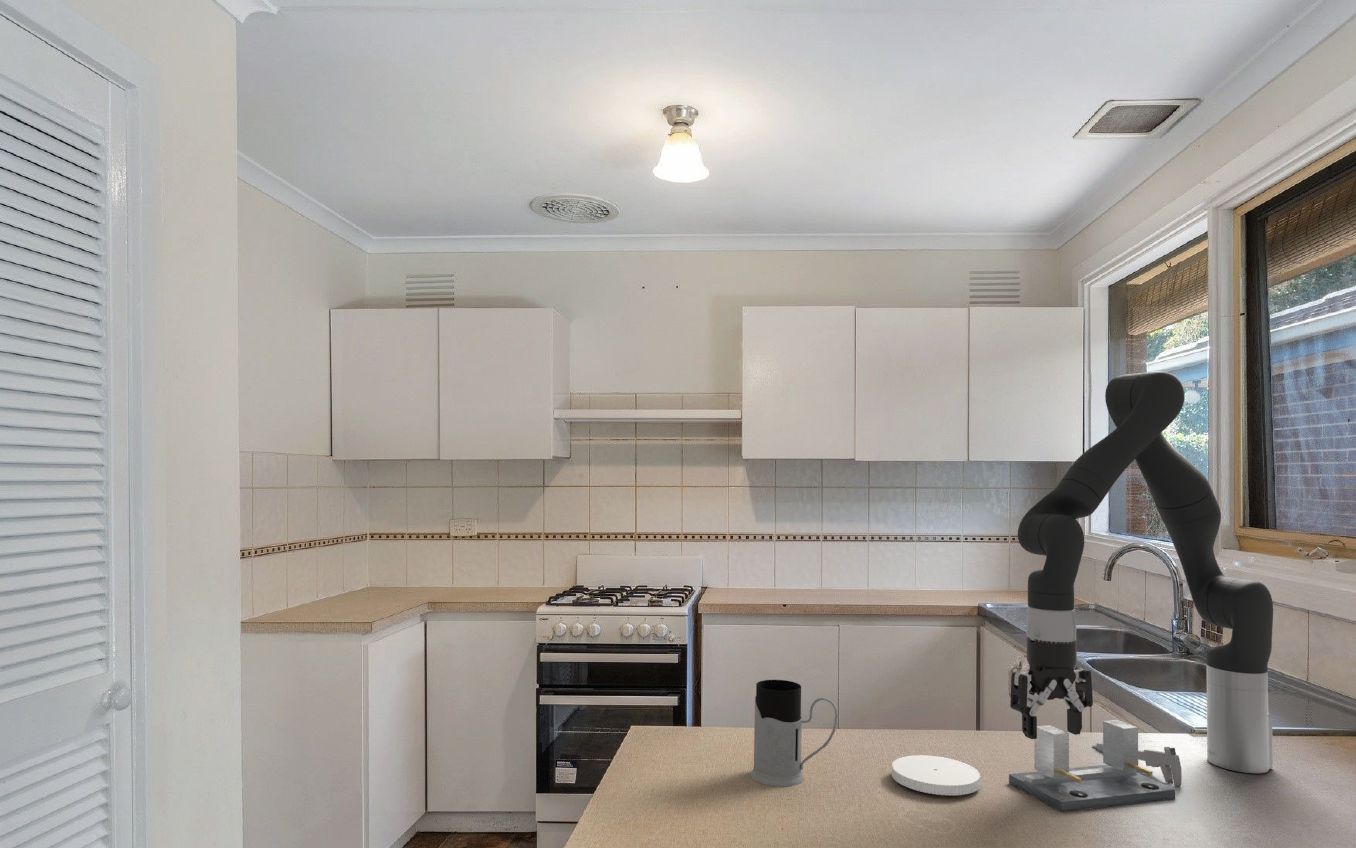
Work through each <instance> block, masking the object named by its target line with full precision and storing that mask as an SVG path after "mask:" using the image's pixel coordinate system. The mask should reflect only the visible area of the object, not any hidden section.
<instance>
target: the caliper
mask: <svg viewBox="0 0 1356 848" xmlns="http://www.w3.org/2000/svg"><path fill="white" fill-rule="evenodd" d="M1091 747H1092V748H1093V749H1096V750H1097V751H1099V752H1101V753H1103V742H1096V744H1093V745H1092V746H1091ZM1163 748H1164V751H1159V750H1153V749H1143V750H1140V749H1138V761H1143V762H1144V763H1145V766H1146V767H1152V768H1158V767H1159V768H1160V771H1161V773H1162V777H1163V778H1164V781H1165V783H1166V784H1173V787H1181V786H1182V784H1183V783H1182V781H1183V780H1182V778H1183V776H1182V765H1181V761H1180V756H1179V755H1178V754H1177V753H1176V748H1175V747H1170V746H1164V747H1163Z"/></svg>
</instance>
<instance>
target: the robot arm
mask: <svg viewBox="0 0 1356 848" xmlns="http://www.w3.org/2000/svg"><path fill="white" fill-rule="evenodd" d="M1104 396H1105V404H1106V405H1105V406H1106V408H1107V411H1108V414H1109V416H1110V418H1111V420H1112V422H1113V424H1114V426H1115V427H1116V428H1114V430H1112V432H1110V433H1109V434H1107V435H1106V436H1105V437H1104V438H1102V439H1100V440H1099V441H1098V442H1096V443H1095V444H1094V445H1092V446H1091V447H1089V448H1088V449H1087V450H1086V451H1084V453H1082V454H1080V456H1079V457H1077V459H1076V460H1075V461H1074V462H1073V463H1072V464H1071V466H1070V467H1069V469H1068V470H1067V471H1066V473H1065V474H1064V475H1063V477H1062V479H1060V480H1059V482H1058V484H1057V485H1056V487H1055V488H1054V489H1053V490H1052V491H1050V492H1049V493H1047V494H1046V495H1045V496H1043V498H1041V499H1040V500H1038V502H1037V503H1035V504H1034V505H1033V506H1032V507H1031V508H1030V509H1029V510H1028V511H1027V512H1026V513H1025V515H1024V516H1023V517H1022V519H1021V521H1020V523H1019V524H1018V529H1017V539H1018V543H1019V544H1020V546H1021V548H1022V549H1023V550H1025V551H1026V552H1027V553H1030V554H1032V555H1038V556H1045V562H1044V565H1043V568H1042V569H1038V570H1034V571H1032V572H1030V574H1029V576H1028V577H1027V612H1026V613H1027V614H1026V622H1025V623H1026V627H1025V628H1026V633H1025V634H1026V635H1025V636H1026V662H1027V664H1028V666H1029V669H1028V672H1027V673H1020V672H1017V671H1013V672H1012V673H1011V679H1010V680H1011V681H1010V682H1011V683H1010V702H1009V703H1010V709H1012V710H1015V711H1016V712H1019V713H1020V714H1021V731H1022V733H1023V735H1024V737H1026V738H1028V739H1030V740H1034V739H1037V726H1038V720H1037V719H1038V717H1037V716H1036V714H1037V712H1038V710H1040V707H1041V706H1044V705H1045V703H1046V701H1052V700H1056V699H1059V700H1061V699H1062V700H1063V701H1064V703H1065V704H1066V706H1067V707H1068V708H1066V725H1067V726H1066V730H1067V733H1069V734H1072V735H1075V736H1077V735H1080V734H1081V731H1082V730H1083V712H1084V711H1085V708H1091V707H1092V706H1093V704H1094V700H1093V698H1094V697H1093V683H1092V672H1091V671H1090V670H1089V669H1085V668H1082V667H1078V666H1077V663H1078V661H1077V659H1078V658H1077V653H1078V652H1077V649H1078V648H1077V619H1076V613H1075V582H1076V578H1077V575H1078V571H1079V568H1080V565H1081V561H1082V556H1083V554H1084V553H1083V552H1084V549H1085V535H1084V531H1083V528H1082V525H1081V524H1080V522H1079V521H1078V520H1077V519H1082V518H1086V517H1088V516H1091V515H1092V514H1093V513H1094V512H1095V511H1096V510H1097V509H1098V508H1099V506H1100V505H1101V503H1102V501H1103V500H1104V499H1105V498H1106V496H1107V494H1108V493H1109V491H1110V490H1111V489H1112V487H1113V485H1114V484H1115V483H1116V482H1117V480H1118V479H1119V478H1120V477H1121V475H1123V473H1124V471H1126V470H1127V468H1128V467H1129V466H1130V464H1132V463H1133V462H1134V461H1135V463H1136V464H1137V467H1138V469H1139V471H1140V473H1141V475H1142V477H1143V479H1144V481H1145V484H1146V485H1147V487H1148V490H1149V492H1150V495H1151V497H1152V499H1153V500H1152V501H1153V502H1154V505H1155V507H1156V509H1157V511H1158V513H1159V516H1160V518H1161V520H1162V523H1163V524H1164V526H1165V528H1166V531H1167V532H1168V535H1169V537H1170V540H1171V542H1172V544H1173V547H1174V549H1175V552H1176V554H1177V556H1178V558H1179V562H1180V564H1181V568H1182V570H1183V573H1184V576H1185V581H1186V583H1187V586H1188V587H1187V588H1188V589H1189V593H1190V596H1191V598H1192V602H1193V604H1194V607H1195V609H1196V611H1197V613H1198V615H1199V616H1200V618H1201V619H1202V620H1203V621H1205V622H1206V623H1207V624H1209V625H1212V626H1216V627H1218V628H1219V627H1220V628H1224V629H1230V630H1232V631H1231V638H1230V641H1229V642H1228V643H1226V644H1224V645H1216V646H1211V647H1210V648H1208V649H1207V651H1206V658H1205V659H1206V733H1207V734H1206V740H1207V741H1206V745H1207V747H1206V748H1207V750H1206V753H1207V754H1206V755H1207V761H1208V762H1209V763H1211V764H1212V765H1214V766H1217V767H1218V768H1222V769H1226V770H1230V771H1235V772H1239V773H1245V774H1264V773H1267V772H1269V771H1270V769H1273V768H1274V766H1273V763H1274V760H1273V759H1274V757H1273V755H1274V754H1273V750H1274V749H1273V715H1272V714H1271V713H1270V712H1269V682H1268V681H1269V679H1268V678H1269V677H1268V675H1269V673H1268V667H1269V660H1270V658H1271V653H1272V648H1273V647H1272V644H1273V643H1272V642H1273V627H1274V626H1273V625H1274V624H1273V622H1274V605H1273V599H1272V595H1271V592H1270V590H1269V588H1268V587H1267V586H1266V585H1265V584H1264V583H1262V582H1259V581H1258V580H1253V579H1244V578H1237V577H1230V576H1225V574H1224V573H1223V572H1222V570H1221V568H1220V567H1219V564H1218V562H1217V560H1216V556H1215V552H1214V545H1215V542H1216V539H1217V535H1218V533H1219V529H1220V525H1221V521H1222V513H1221V509H1220V506H1219V503H1218V500H1217V498H1216V496H1215V494H1214V491H1213V489H1212V487H1211V485H1210V483H1209V481H1208V479H1207V477H1206V476H1205V475H1204V473H1203V472H1201V471H1200V470H1199V468H1197V467H1196V466H1195V465H1194V464H1193V463H1192V462H1191V461H1190V460H1189V459H1188V458H1187V457H1185V456H1184V455H1183V454H1182V453H1180V452H1179V450H1177V449H1176V448H1175V447H1174V446H1173V445H1172V444H1171V443H1170V442H1169V441H1168V439H1166V437H1165V436H1164V434H1163V431H1164V430H1166V429H1167V428H1168V426H1169V425H1171V423H1172V422H1174V421H1175V420H1176V418H1177V417H1178V416H1179V414H1180V413H1181V411H1182V409H1183V406H1184V404H1185V397H1186V396H1185V387H1184V385H1183V383H1182V381H1181V380H1180V379H1179V378H1178V377H1177V376H1176V375H1175V374H1173V373H1171V372H1168V371H1159V370H1158V371H1146V372H1145V371H1144V372H1137V373H1128V374H1127V373H1126V374H1120V375H1117V376H1115V377H1113V378H1112V379H1111V380H1109V382H1108V384H1107V385H1106V389H1105V395H1104ZM1073 684H1074V685H1075V688H1074V687H1073ZM1035 694H1036V695H1037V696H1036V695H1035Z"/></svg>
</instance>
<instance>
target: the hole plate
mask: <svg viewBox="0 0 1356 848" xmlns="http://www.w3.org/2000/svg"><path fill="white" fill-rule="evenodd" d="M1069 773H1070V774H1073V775H1075V776H1077V777H1079V778H1081V783H1077V782H1075V781H1073V780H1071V779H1069V778H1059V779H1052V778H1051V777H1049V776H1047V775H1045V774H1043V773H1041V772H1039V771H1037V770H1035V771H1027V772H1019V773H1017V772H1016V773H1009V774H1008V784H1010V786H1013V787H1015V788H1016V787H1017V788H1016V789H1018V790H1020V791H1022V790H1023V791H1022V792H1024V793H1026V794H1027V795H1029V794H1030V796H1031V797H1033V798H1034V799H1036V800H1039V801H1041V802H1042V803H1044V804H1046V805H1047V806H1049V807H1051V808H1053V809H1055V810H1057V811H1058V812H1060V813H1065V812H1066V811H1067V812H1073V811H1083V810H1084V809H1085V810H1091V809H1090V808H1093V809H1100V808H1099V807H1102V808H1109V807H1116V806H1117V807H1118V806H1126V805H1134V804H1137V805H1138V804H1144V803H1152V802H1161V801H1171V800H1176V789H1175V788H1173V787H1170V786H1168V785H1166V784H1164V783H1161V782H1160V781H1157V780H1155V779H1153V778H1150V777H1148V776H1145V775H1144V774H1140V773H1138V771H1128V772H1123V771H1120V770H1118V769H1116V768H1114V767H1111V766H1109V765H1107V764H1102V765H1101V764H1100V765H1089V766H1079V767H1069ZM1085 810H1084V811H1085Z"/></svg>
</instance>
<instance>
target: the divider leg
mask: <svg viewBox="0 0 1356 848" xmlns="http://www.w3.org/2000/svg"><path fill="white" fill-rule="evenodd" d="M1033 740H1034V742H1033V743H1034V747H1033V748H1034V754H1033V755H1034V757H1033V758H1034V762H1033V763H1034V770H1035V771H1039V772H1041V773H1043V774H1045V775H1047V776H1049V777H1051V778H1052V779H1059V778H1069V779H1071V780H1073V781H1075V782H1077V783H1081V778H1079V777H1077V776H1075V775H1073V774H1070V773H1069V768H1070V732H1068V731H1065V730H1062V729H1060V728H1057V727H1055V726H1053V725H1050V724H1048V725H1046V724H1044V725H1037V739H1033Z"/></svg>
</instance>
